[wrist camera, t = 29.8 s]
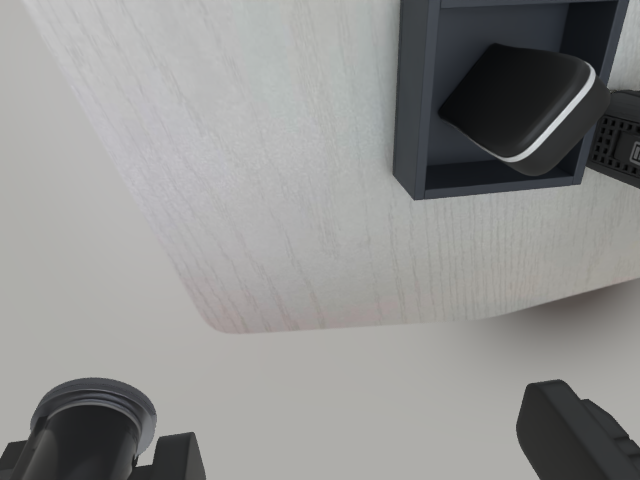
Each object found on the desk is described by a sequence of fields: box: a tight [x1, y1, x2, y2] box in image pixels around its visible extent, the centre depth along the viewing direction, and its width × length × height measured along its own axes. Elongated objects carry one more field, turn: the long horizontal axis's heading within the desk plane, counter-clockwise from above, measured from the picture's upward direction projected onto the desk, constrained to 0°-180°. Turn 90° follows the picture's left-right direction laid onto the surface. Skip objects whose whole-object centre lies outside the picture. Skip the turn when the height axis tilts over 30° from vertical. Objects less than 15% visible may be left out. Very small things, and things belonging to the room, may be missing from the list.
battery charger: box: [439, 43, 611, 176], centre depth 30 cm, size 7×4×11 cm, turn 144°
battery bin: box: [393, 0, 629, 200], centre depth 33 cm, size 14×14×6 cm
